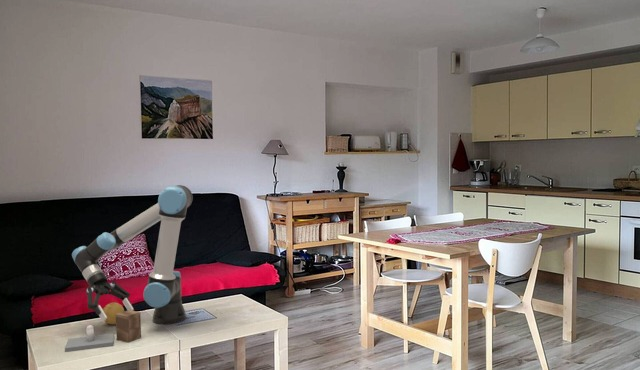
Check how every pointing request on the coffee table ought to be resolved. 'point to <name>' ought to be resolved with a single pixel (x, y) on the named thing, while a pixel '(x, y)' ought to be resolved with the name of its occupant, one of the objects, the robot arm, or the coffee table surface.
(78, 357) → the coffee table surface
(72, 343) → the stub plate
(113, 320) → the stress ball
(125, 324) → the brown wooden block
